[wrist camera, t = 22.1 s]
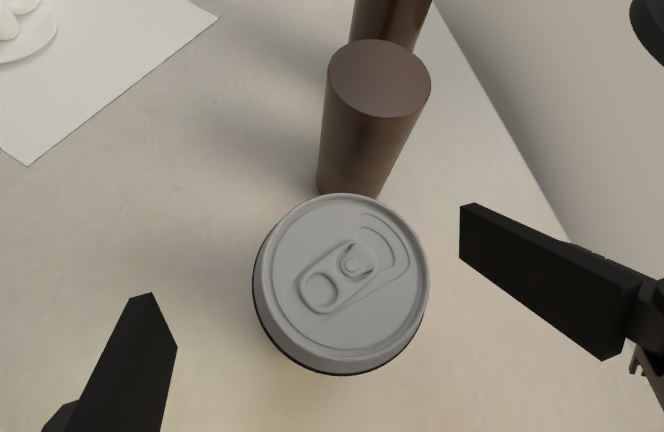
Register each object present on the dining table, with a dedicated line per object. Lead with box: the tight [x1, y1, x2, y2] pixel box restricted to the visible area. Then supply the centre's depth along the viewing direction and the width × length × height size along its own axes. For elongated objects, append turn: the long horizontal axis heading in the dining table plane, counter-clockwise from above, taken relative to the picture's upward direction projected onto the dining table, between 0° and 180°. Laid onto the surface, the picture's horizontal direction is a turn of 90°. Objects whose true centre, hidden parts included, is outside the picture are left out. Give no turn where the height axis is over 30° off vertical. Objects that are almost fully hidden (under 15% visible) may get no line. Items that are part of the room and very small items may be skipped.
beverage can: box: [252, 193, 430, 376], centre depth 14 cm, size 6×6×12 cm
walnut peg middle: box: [316, 39, 431, 200], centre depth 19 cm, size 5×5×10 cm
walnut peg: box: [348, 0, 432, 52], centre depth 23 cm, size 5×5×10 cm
